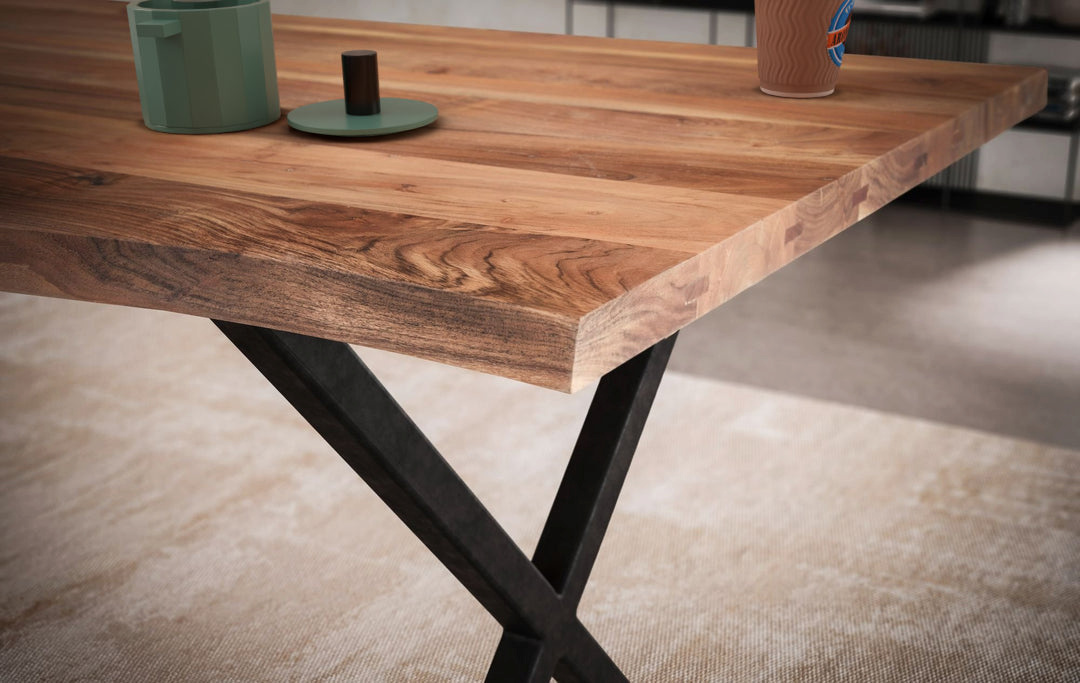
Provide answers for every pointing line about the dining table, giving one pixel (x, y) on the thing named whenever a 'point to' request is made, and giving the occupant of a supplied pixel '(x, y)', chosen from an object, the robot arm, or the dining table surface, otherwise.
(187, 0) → the pill bottle
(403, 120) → the lid
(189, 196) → the dining table surface
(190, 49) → the pot
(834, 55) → the coffee cup
